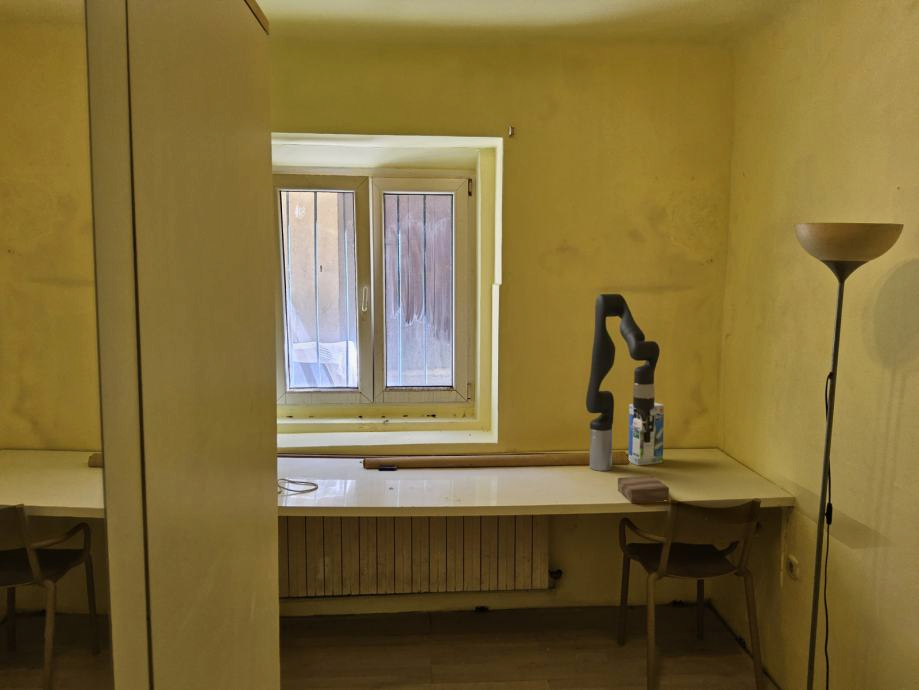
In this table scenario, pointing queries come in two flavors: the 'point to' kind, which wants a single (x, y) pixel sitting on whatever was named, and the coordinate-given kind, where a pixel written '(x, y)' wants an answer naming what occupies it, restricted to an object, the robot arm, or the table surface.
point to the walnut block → (643, 489)
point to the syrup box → (642, 441)
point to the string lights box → (658, 435)
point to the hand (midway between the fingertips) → (643, 439)
